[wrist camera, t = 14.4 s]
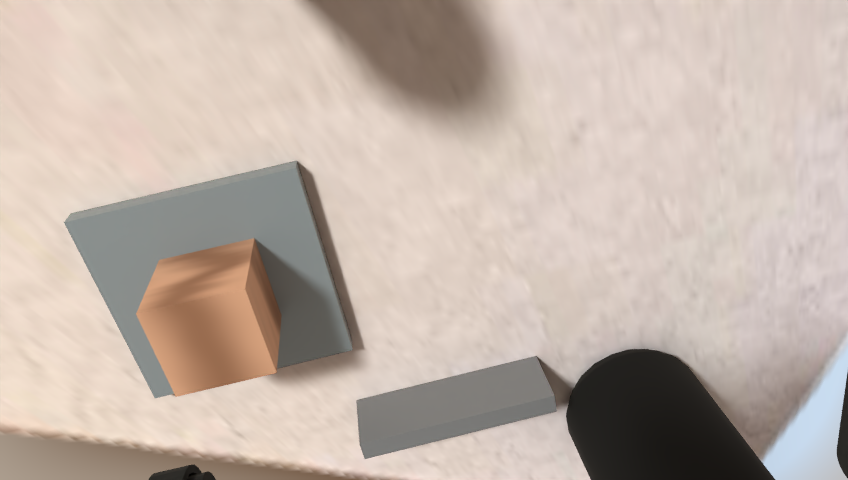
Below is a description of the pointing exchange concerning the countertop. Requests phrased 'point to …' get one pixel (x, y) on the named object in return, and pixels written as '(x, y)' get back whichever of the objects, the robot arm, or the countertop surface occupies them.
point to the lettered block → (212, 317)
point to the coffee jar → (654, 423)
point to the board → (211, 227)
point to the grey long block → (453, 407)
